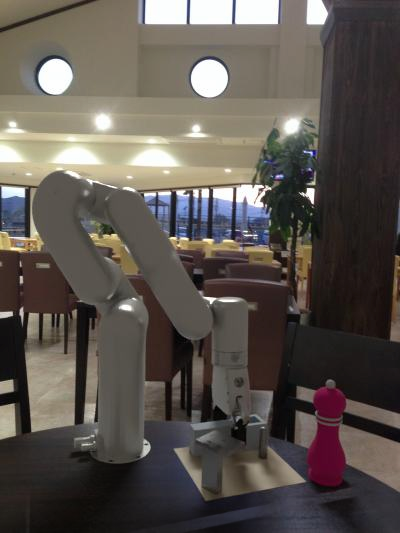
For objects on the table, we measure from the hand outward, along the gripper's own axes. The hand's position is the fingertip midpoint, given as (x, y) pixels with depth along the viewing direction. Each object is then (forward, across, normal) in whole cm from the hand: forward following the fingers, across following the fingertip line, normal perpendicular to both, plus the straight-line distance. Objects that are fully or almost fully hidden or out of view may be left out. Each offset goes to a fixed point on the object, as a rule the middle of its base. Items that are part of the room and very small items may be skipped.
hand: (228, 436), depth 94 cm
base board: (+4, -6, +1) cm, 8 cm away
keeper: (+4, -12, +7) cm, 14 cm away
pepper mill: (+5, -15, -13) cm, 21 cm away
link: (+3, 0, 0) cm, 3 cm away
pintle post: (+4, -6, -5) cm, 9 cm away
